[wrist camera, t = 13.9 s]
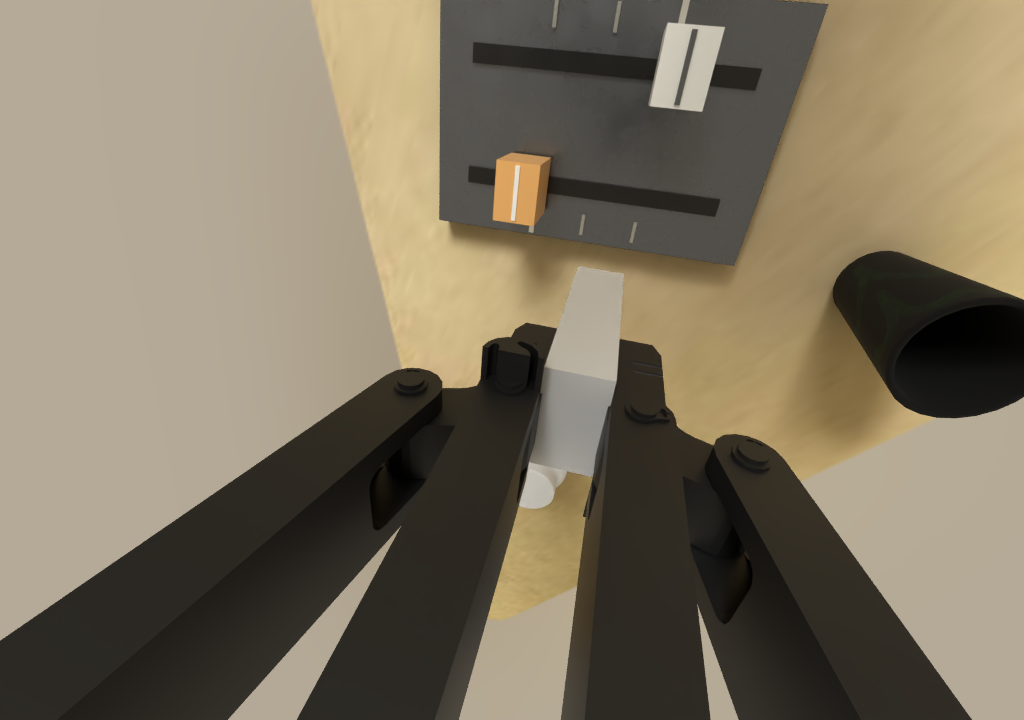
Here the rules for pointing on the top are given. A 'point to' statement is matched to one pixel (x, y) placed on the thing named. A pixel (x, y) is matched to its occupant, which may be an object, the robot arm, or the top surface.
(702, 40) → the fader
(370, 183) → the top surface
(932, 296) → the cup
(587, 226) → the console
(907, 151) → the top surface
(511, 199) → the fader
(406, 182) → the top surface
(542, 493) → the pill bottle
